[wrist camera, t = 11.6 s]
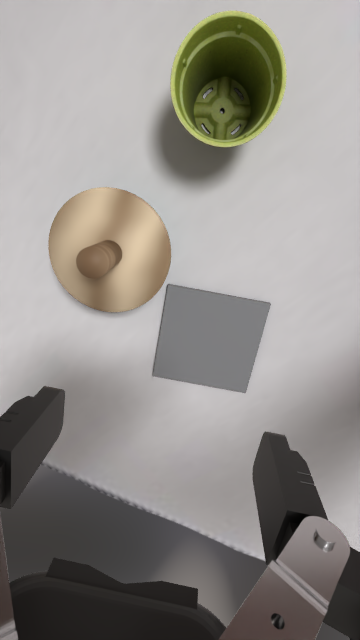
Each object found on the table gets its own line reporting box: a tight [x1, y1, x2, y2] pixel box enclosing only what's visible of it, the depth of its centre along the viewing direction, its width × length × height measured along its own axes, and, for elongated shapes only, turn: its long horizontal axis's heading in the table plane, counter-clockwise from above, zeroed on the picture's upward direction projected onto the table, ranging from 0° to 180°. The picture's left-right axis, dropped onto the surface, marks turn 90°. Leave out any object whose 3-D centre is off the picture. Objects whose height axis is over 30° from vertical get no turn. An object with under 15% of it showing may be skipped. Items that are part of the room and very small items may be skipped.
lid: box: [49, 187, 171, 312], centre depth 32 cm, size 13×13×7 cm
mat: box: [153, 284, 271, 393], centre depth 43 cm, size 13×13×1 cm
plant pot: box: [170, 11, 286, 147], centre depth 31 cm, size 9×9×9 cm
